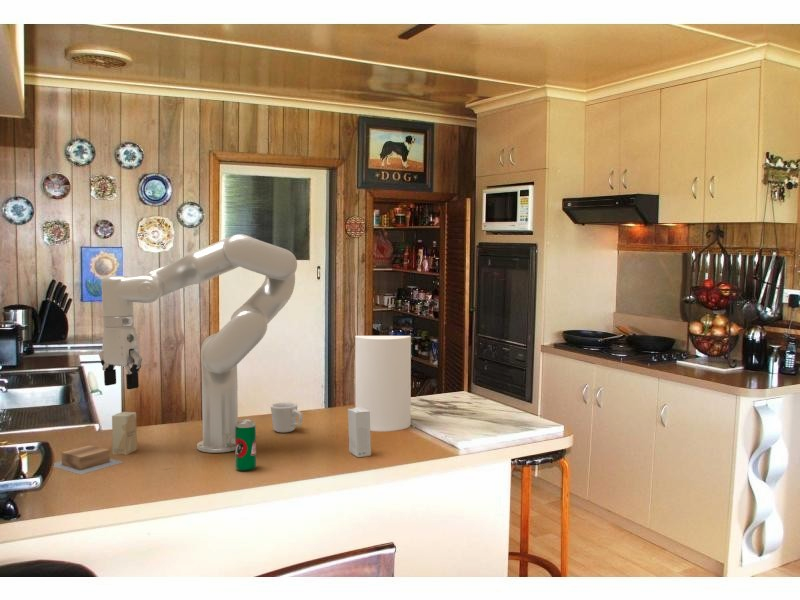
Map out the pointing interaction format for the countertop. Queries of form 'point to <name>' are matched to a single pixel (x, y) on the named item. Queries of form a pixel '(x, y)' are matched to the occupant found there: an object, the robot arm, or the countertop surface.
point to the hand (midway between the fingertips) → (121, 386)
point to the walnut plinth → (85, 457)
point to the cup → (285, 416)
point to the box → (124, 433)
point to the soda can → (245, 445)
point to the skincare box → (359, 432)
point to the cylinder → (384, 380)
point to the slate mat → (111, 463)
